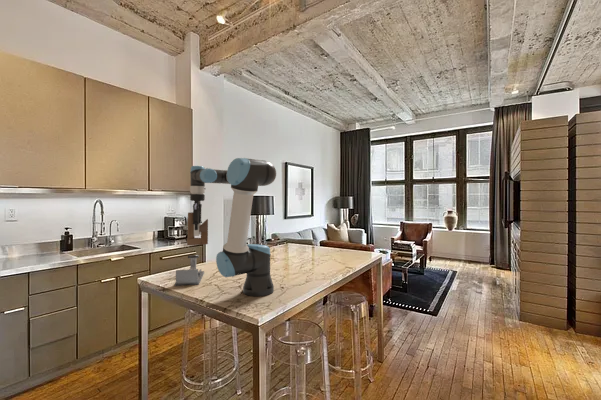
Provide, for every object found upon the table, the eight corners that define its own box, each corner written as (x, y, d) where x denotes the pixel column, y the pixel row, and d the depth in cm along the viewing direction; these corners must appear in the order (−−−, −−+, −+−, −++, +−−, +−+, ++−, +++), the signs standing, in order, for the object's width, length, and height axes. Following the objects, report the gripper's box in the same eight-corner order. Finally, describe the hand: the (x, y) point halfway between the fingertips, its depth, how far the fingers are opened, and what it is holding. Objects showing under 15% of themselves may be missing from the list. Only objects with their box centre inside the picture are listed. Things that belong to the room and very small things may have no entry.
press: (198, 284, 150) (198, 269, 150) (174, 286, 148) (174, 270, 148) (204, 273, 173) (204, 260, 173) (183, 274, 171) (183, 261, 170)
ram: (197, 273, 167) (197, 256, 166) (186, 274, 165) (186, 256, 165) (198, 271, 171) (198, 254, 171) (188, 272, 170) (188, 255, 170)
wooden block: (207, 244, 159) (208, 212, 158) (187, 245, 154) (187, 212, 154) (207, 243, 162) (207, 212, 162) (187, 244, 158) (187, 212, 158)
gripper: (202, 193, 150) (201, 237, 150) (206, 193, 167) (206, 233, 167) (187, 193, 148) (186, 237, 149) (193, 193, 165) (193, 233, 166)
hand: (197, 235), depth 158 cm, fingers closed on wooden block, 4 cm apart
